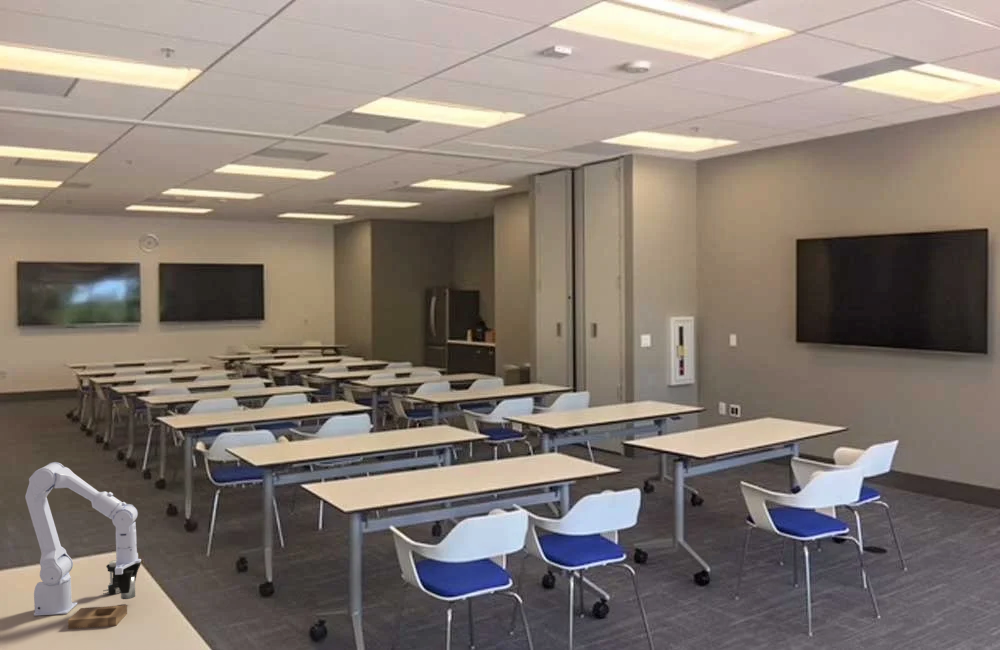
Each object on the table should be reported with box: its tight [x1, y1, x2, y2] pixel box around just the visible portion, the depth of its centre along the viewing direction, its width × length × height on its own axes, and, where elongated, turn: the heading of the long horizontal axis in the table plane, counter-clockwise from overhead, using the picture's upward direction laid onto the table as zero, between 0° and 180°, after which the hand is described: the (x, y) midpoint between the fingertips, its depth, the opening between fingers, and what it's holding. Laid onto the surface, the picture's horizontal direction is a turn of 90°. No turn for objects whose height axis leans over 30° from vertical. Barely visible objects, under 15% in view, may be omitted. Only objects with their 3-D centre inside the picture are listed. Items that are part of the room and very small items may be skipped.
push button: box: [102, 559, 121, 596], centre depth 257 cm, size 7×5×10 cm
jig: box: [67, 604, 128, 630], centre depth 235 cm, size 13×9×2 cm
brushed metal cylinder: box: [120, 575, 136, 600], centre depth 247 cm, size 4×4×6 cm
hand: (127, 590), depth 247 cm, fingers closed on brushed metal cylinder, 4 cm apart
